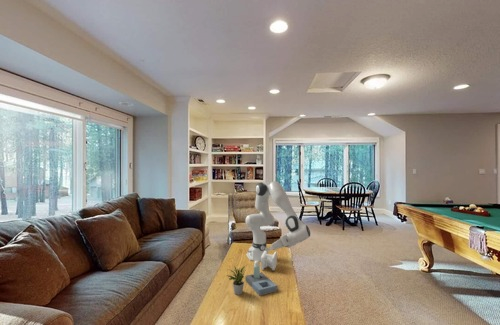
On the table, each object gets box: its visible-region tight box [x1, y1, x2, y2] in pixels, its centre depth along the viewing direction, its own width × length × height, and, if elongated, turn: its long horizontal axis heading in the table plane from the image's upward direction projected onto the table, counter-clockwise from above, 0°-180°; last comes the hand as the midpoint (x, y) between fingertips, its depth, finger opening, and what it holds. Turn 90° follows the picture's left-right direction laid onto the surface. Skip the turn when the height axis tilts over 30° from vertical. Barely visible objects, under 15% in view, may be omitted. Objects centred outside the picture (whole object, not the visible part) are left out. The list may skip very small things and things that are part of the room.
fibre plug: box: [253, 261, 261, 279], centre depth 168 cm, size 4×4×14 cm
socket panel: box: [244, 271, 278, 296], centre depth 162 cm, size 21×13×4 cm, turn 25°
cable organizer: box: [260, 250, 278, 272], centre depth 191 cm, size 15×11×12 cm
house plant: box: [226, 265, 247, 296], centre depth 155 cm, size 14×14×16 cm
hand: (270, 249), depth 165 cm, fingers open, 8 cm apart
